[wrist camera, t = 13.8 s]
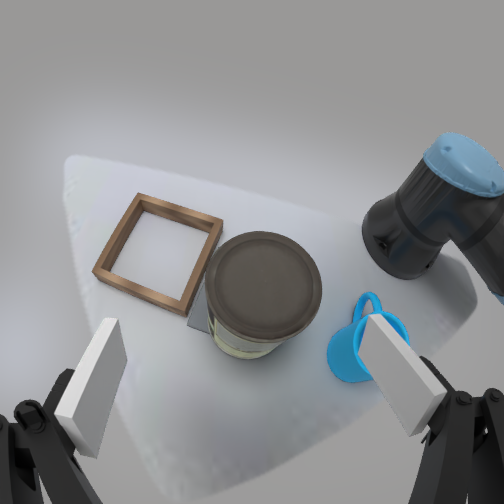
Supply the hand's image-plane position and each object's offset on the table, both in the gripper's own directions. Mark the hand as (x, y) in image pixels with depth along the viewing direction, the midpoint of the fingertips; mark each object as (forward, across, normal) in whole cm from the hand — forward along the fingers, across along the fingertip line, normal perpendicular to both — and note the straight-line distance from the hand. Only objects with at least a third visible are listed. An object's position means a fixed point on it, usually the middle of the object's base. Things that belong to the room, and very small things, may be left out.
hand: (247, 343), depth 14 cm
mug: (+18, +17, -15) cm, 29 cm away
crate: (+27, -10, -5) cm, 30 cm away
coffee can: (+20, +2, -12) cm, 24 cm away
